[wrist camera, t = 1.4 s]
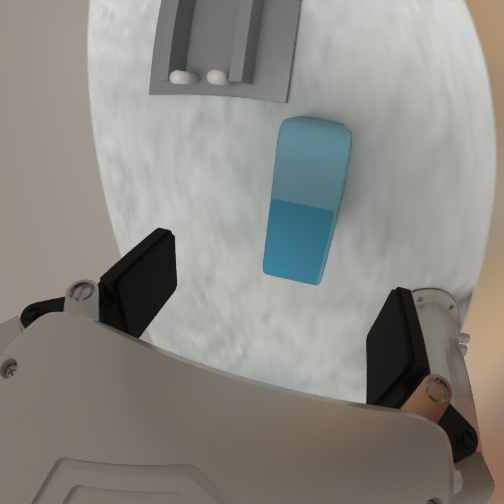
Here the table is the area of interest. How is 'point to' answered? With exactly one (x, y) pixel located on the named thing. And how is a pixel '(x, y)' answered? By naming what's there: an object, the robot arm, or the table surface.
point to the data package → (305, 197)
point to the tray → (225, 48)
